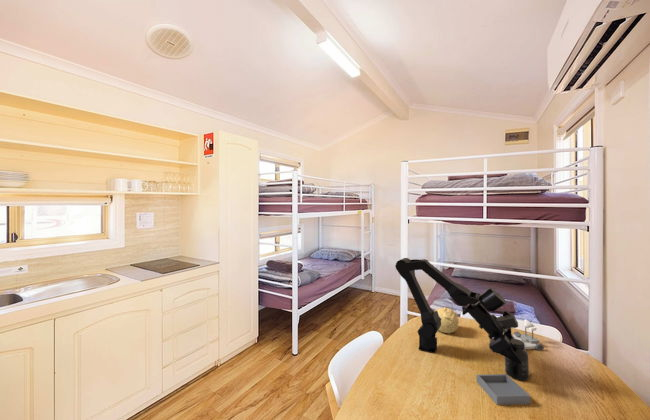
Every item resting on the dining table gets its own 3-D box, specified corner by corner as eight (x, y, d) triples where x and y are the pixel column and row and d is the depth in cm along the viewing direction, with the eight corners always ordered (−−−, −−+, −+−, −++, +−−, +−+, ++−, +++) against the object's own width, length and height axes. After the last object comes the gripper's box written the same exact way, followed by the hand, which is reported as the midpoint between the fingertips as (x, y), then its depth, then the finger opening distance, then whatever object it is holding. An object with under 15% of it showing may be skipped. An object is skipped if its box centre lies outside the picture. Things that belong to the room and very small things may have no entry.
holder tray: (497, 404, 77) (497, 396, 77) (476, 382, 88) (476, 374, 88) (530, 404, 78) (530, 395, 78) (506, 381, 88) (506, 374, 88)
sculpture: (457, 338, 117) (457, 315, 117) (429, 331, 123) (429, 309, 123) (459, 328, 127) (459, 306, 126) (434, 323, 133) (433, 302, 133)
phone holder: (524, 315, 118) (548, 327, 107) (524, 337, 118) (549, 350, 107) (488, 318, 116) (509, 330, 105) (488, 339, 116) (509, 354, 105)
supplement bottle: (524, 371, 93) (524, 338, 93) (532, 383, 87) (532, 348, 87) (502, 367, 95) (501, 335, 95) (508, 379, 89) (508, 344, 89)
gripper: (500, 314, 86) (544, 358, 79) (502, 298, 101) (539, 334, 94) (473, 331, 91) (512, 374, 84) (479, 314, 106) (513, 349, 99)
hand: (520, 356), depth 90 cm, fingers open, 9 cm apart
